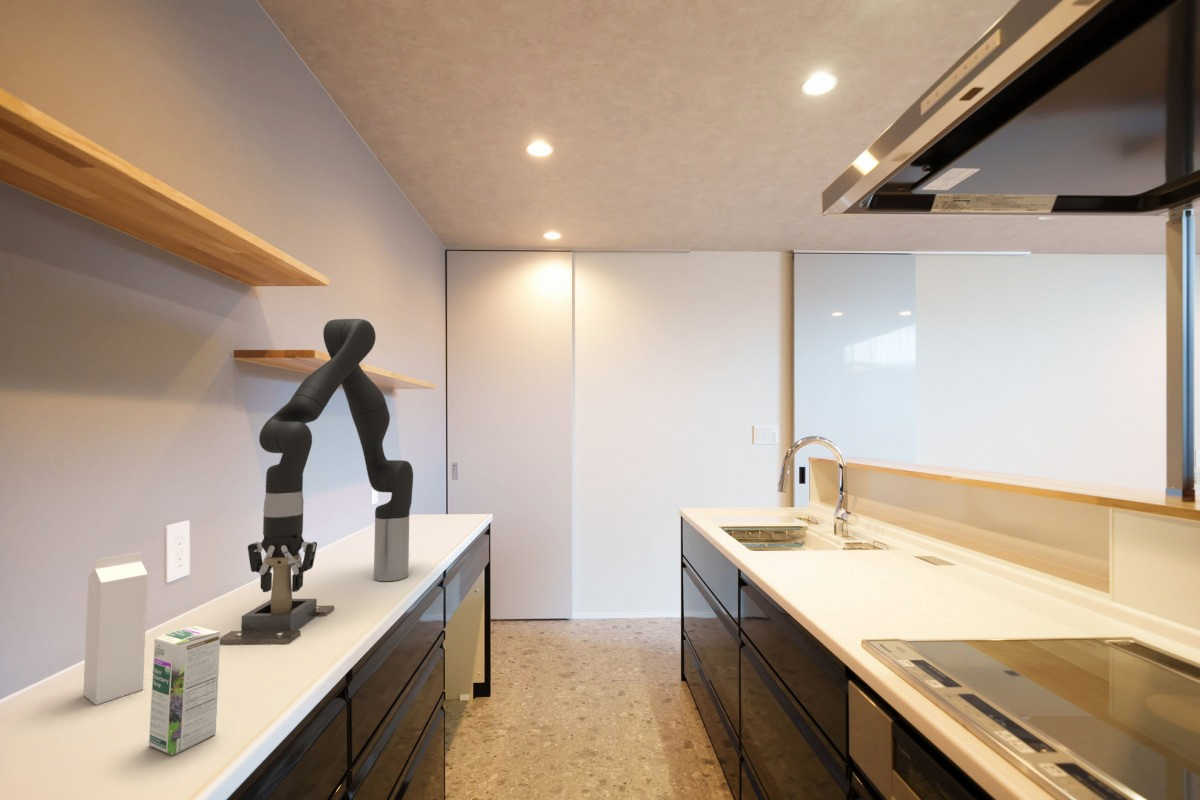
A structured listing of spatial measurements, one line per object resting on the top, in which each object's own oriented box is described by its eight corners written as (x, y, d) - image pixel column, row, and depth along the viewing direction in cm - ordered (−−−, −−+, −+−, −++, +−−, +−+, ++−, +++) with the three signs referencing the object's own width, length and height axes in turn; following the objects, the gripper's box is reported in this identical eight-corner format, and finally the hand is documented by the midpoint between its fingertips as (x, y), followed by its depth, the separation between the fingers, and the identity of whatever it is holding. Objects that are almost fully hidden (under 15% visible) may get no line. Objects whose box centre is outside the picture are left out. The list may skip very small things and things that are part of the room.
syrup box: (146, 746, 74) (150, 637, 74) (193, 724, 79) (197, 623, 80) (171, 757, 71) (175, 644, 72) (218, 733, 77) (222, 629, 78)
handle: (294, 628, 116) (295, 557, 117) (260, 631, 115) (262, 559, 115) (300, 620, 121) (301, 552, 122) (267, 623, 119) (269, 554, 120)
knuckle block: (273, 610, 128) (274, 592, 128) (334, 609, 128) (334, 592, 128) (216, 644, 108) (217, 624, 108) (288, 644, 108) (289, 623, 108)
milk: (82, 695, 88) (87, 557, 89) (130, 680, 93) (134, 549, 94) (96, 706, 84) (100, 561, 85) (144, 689, 89) (148, 554, 90)
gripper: (325, 509, 123) (323, 585, 122) (260, 510, 122) (257, 586, 122) (308, 515, 115) (306, 596, 115) (239, 515, 115) (236, 596, 114)
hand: (281, 590), depth 118 cm, fingers open, 5 cm apart
